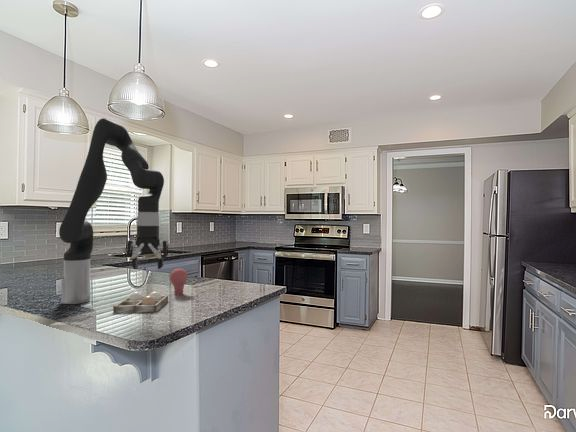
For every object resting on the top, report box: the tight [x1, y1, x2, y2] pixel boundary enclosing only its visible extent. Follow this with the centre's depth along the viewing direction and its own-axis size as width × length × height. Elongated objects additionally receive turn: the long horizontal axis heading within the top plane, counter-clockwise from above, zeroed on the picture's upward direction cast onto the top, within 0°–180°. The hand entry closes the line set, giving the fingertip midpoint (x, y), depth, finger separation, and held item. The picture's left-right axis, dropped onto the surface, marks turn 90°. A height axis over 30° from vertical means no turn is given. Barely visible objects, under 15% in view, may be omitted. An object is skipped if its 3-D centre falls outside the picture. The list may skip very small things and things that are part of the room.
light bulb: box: [169, 268, 188, 296], centre depth 147 cm, size 7×7×12 cm
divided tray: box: [112, 295, 169, 314], centre depth 128 cm, size 15×15×3 cm
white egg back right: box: [148, 290, 162, 300], centre depth 131 cm, size 5×5×5 cm
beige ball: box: [142, 295, 156, 305], centre depth 124 cm, size 5×5×5 cm
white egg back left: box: [129, 291, 144, 301], centre depth 131 cm, size 5×5×5 cm
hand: (147, 268), depth 124 cm, fingers open, 8 cm apart
